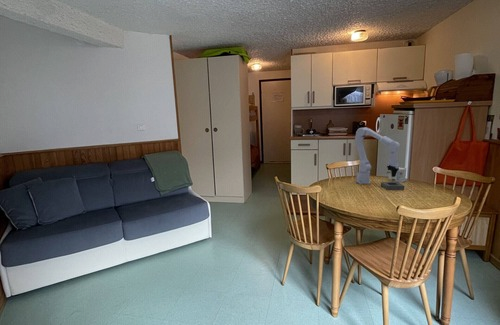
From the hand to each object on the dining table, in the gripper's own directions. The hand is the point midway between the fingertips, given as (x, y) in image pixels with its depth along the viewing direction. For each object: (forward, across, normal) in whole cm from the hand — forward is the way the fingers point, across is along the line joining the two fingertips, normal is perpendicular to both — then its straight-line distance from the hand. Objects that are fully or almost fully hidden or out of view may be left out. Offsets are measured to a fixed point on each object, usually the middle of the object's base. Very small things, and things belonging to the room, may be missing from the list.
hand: (392, 176), depth 202 cm
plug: (+2, 0, 0) cm, 2 cm away
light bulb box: (+9, +19, -13) cm, 25 cm away
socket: (+8, -2, 0) cm, 9 cm away
